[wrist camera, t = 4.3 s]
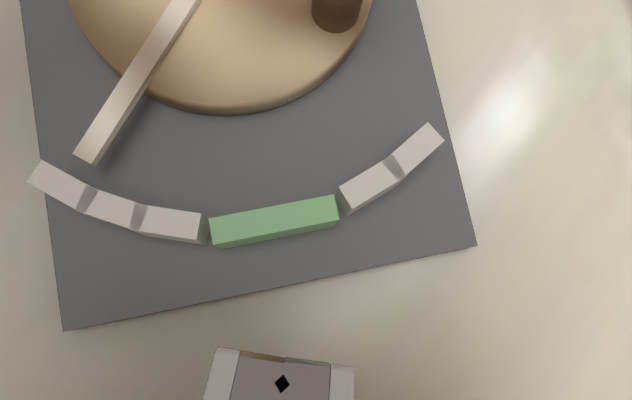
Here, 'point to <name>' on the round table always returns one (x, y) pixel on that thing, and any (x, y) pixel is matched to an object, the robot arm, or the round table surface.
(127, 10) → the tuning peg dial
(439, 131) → the dial board
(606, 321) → the round table surface
